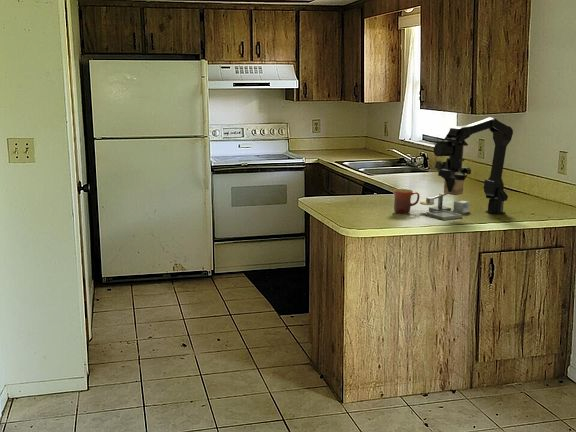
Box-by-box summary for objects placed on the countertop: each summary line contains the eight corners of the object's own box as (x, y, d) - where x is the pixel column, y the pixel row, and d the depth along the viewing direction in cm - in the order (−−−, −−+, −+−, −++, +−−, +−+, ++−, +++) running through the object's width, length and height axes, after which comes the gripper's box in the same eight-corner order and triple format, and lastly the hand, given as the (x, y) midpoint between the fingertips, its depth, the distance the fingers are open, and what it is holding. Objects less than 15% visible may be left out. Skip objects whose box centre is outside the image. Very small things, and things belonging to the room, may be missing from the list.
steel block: (459, 210, 325) (459, 200, 324) (468, 212, 322) (469, 201, 321) (453, 212, 322) (454, 201, 321) (463, 213, 318) (463, 203, 317)
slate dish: (444, 213, 319) (445, 210, 319) (462, 217, 310) (462, 214, 309) (426, 215, 314) (426, 212, 313) (443, 220, 304) (443, 217, 304)
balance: (453, 207, 332) (454, 188, 330) (462, 209, 327) (464, 190, 325) (416, 211, 321) (417, 191, 319) (425, 214, 316) (426, 194, 314)
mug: (394, 214, 314) (394, 192, 312) (390, 210, 323) (391, 188, 321) (420, 214, 315) (421, 192, 313) (416, 211, 323) (417, 189, 321)
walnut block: (462, 193, 309) (463, 180, 307) (455, 195, 304) (457, 181, 303) (450, 192, 313) (451, 178, 311) (443, 193, 308) (444, 180, 307)
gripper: (450, 152, 317) (447, 187, 320) (428, 155, 304) (426, 191, 307) (472, 155, 310) (469, 190, 313) (451, 158, 296) (448, 194, 299)
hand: (453, 191), depth 308 cm, fingers closed on walnut block, 6 cm apart
